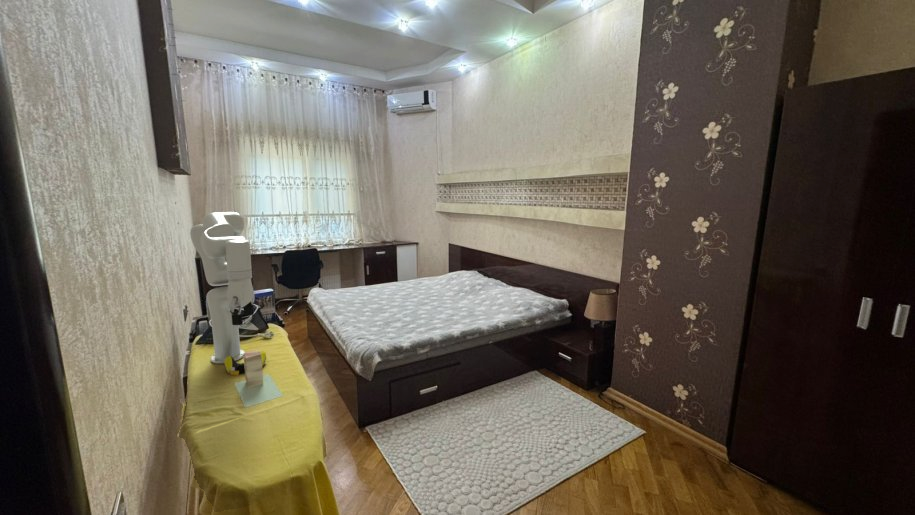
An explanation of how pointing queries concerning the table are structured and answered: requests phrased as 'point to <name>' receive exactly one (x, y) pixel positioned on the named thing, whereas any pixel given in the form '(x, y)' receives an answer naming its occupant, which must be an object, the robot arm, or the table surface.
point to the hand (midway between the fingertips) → (243, 319)
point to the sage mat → (258, 391)
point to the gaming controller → (239, 365)
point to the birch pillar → (253, 368)
